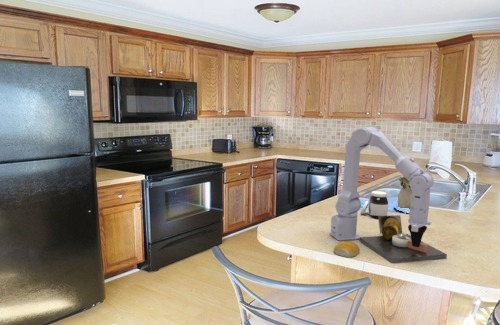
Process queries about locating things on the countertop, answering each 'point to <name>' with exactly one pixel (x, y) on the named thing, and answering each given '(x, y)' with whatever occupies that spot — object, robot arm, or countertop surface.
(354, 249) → the bread roll
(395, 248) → the base
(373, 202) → the spread jar
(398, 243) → the collar
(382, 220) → the condiment
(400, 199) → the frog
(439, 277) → the countertop surface
